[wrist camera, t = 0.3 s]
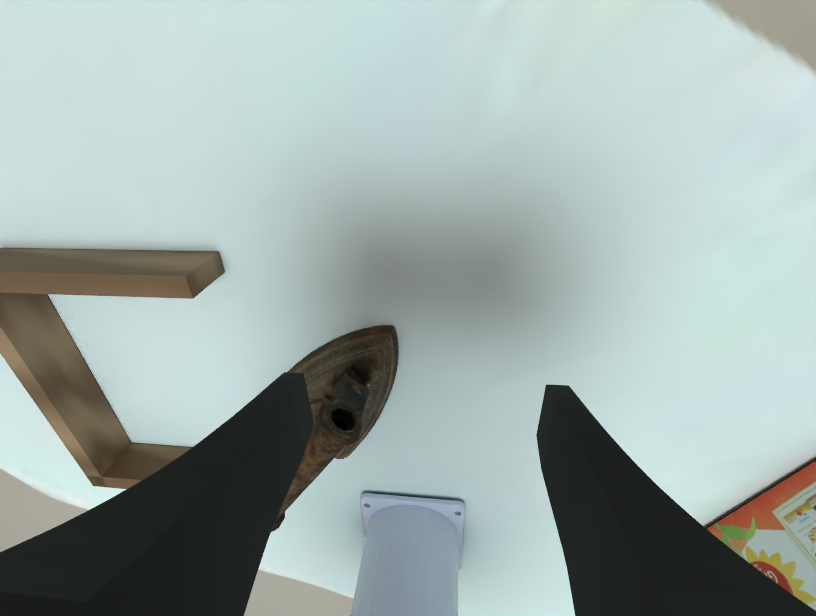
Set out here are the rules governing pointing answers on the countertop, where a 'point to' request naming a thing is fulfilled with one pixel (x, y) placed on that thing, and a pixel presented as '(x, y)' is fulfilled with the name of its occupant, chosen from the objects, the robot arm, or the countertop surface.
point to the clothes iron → (343, 398)
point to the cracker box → (779, 534)
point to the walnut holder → (61, 360)
